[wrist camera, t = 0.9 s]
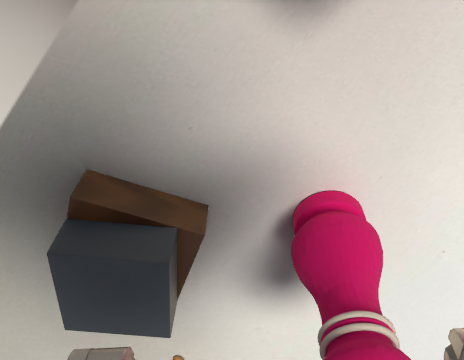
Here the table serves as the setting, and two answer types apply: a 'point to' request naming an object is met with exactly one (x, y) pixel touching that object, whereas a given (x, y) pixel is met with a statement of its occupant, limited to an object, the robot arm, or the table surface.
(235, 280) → the table surface
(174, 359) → the lion figurine
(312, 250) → the pepper mill
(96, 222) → the top block
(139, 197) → the base block
